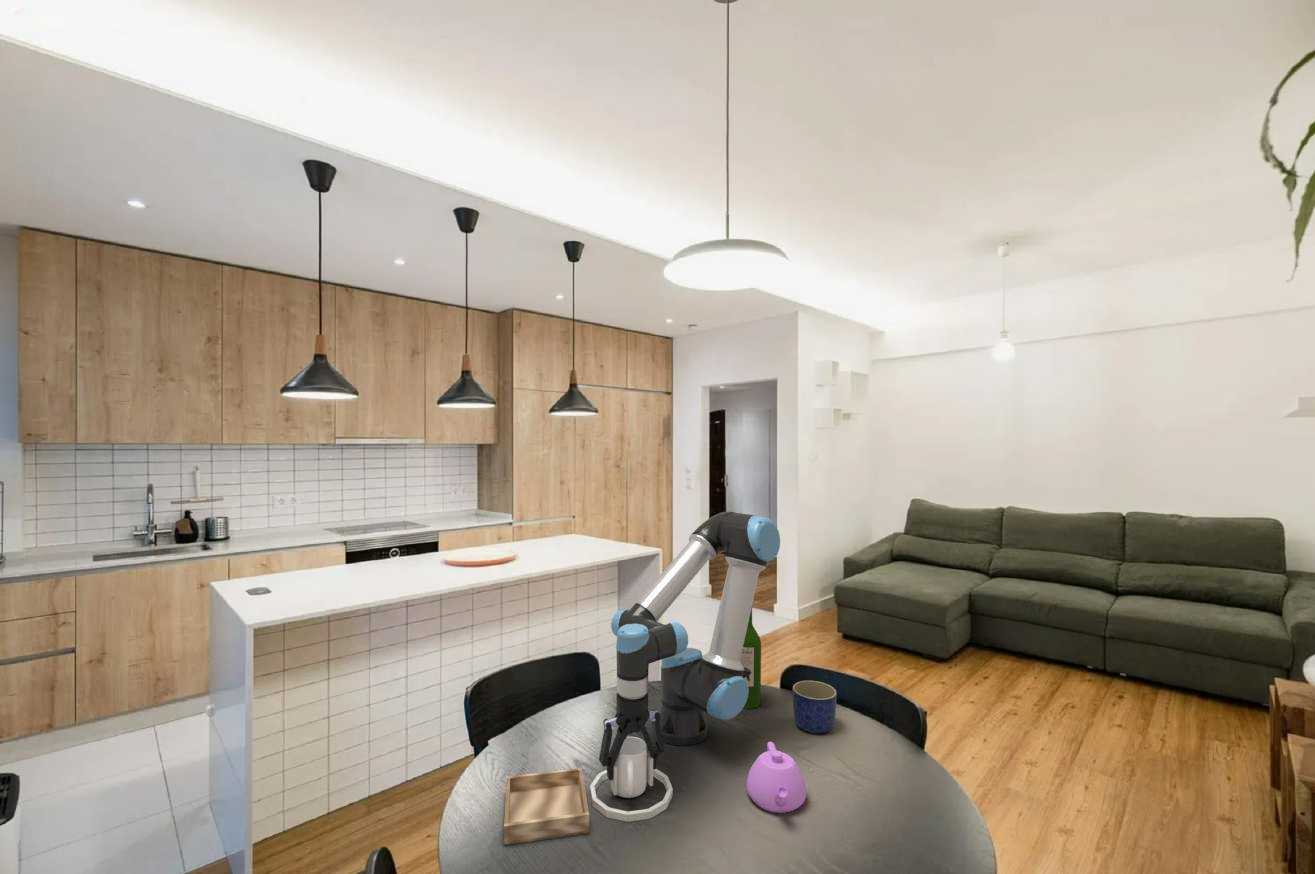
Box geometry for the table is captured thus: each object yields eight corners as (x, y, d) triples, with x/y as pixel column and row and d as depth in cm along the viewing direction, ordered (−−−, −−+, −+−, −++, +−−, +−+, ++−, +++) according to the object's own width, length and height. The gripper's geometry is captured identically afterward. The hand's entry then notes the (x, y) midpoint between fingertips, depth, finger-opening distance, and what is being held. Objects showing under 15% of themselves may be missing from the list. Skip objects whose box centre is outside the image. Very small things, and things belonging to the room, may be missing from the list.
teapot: (751, 827, 127) (752, 779, 127) (742, 773, 147) (743, 731, 147) (815, 830, 126) (816, 781, 126) (797, 775, 146) (798, 733, 146)
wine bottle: (731, 707, 181) (732, 603, 181) (732, 695, 190) (733, 595, 189) (760, 710, 180) (761, 605, 179) (760, 697, 188) (761, 597, 188)
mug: (647, 809, 132) (648, 764, 132) (611, 809, 131) (611, 764, 131) (645, 777, 144) (646, 736, 144) (612, 778, 143) (612, 736, 143)
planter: (801, 712, 179) (802, 676, 179) (841, 724, 172) (842, 687, 172) (785, 728, 169) (785, 691, 169) (827, 742, 162) (827, 703, 161)
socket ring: (661, 766, 149) (661, 760, 149) (680, 814, 131) (680, 807, 131) (586, 775, 145) (586, 769, 145) (596, 826, 126) (596, 819, 126)
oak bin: (581, 783, 141) (581, 767, 141) (589, 833, 124) (589, 814, 124) (506, 793, 138) (506, 776, 137) (504, 845, 120) (504, 826, 120)
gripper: (666, 678, 145) (666, 768, 145) (584, 693, 137) (584, 788, 137) (679, 691, 138) (678, 785, 139) (594, 707, 130) (593, 807, 130)
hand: (631, 787), depth 138 cm, fingers closed on mug, 8 cm apart
